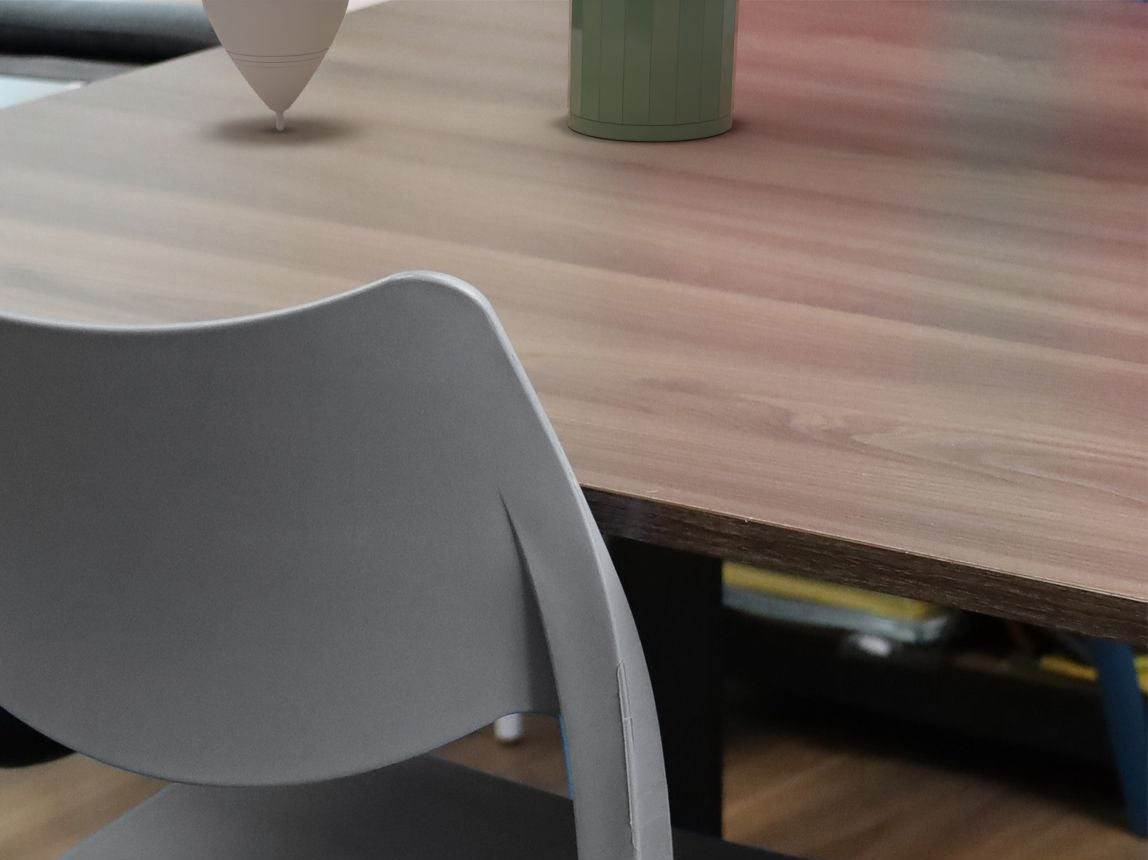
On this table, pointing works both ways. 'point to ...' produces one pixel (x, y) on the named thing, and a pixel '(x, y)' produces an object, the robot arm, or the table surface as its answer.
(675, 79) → the green cylinder
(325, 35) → the spinning top
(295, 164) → the table surface
